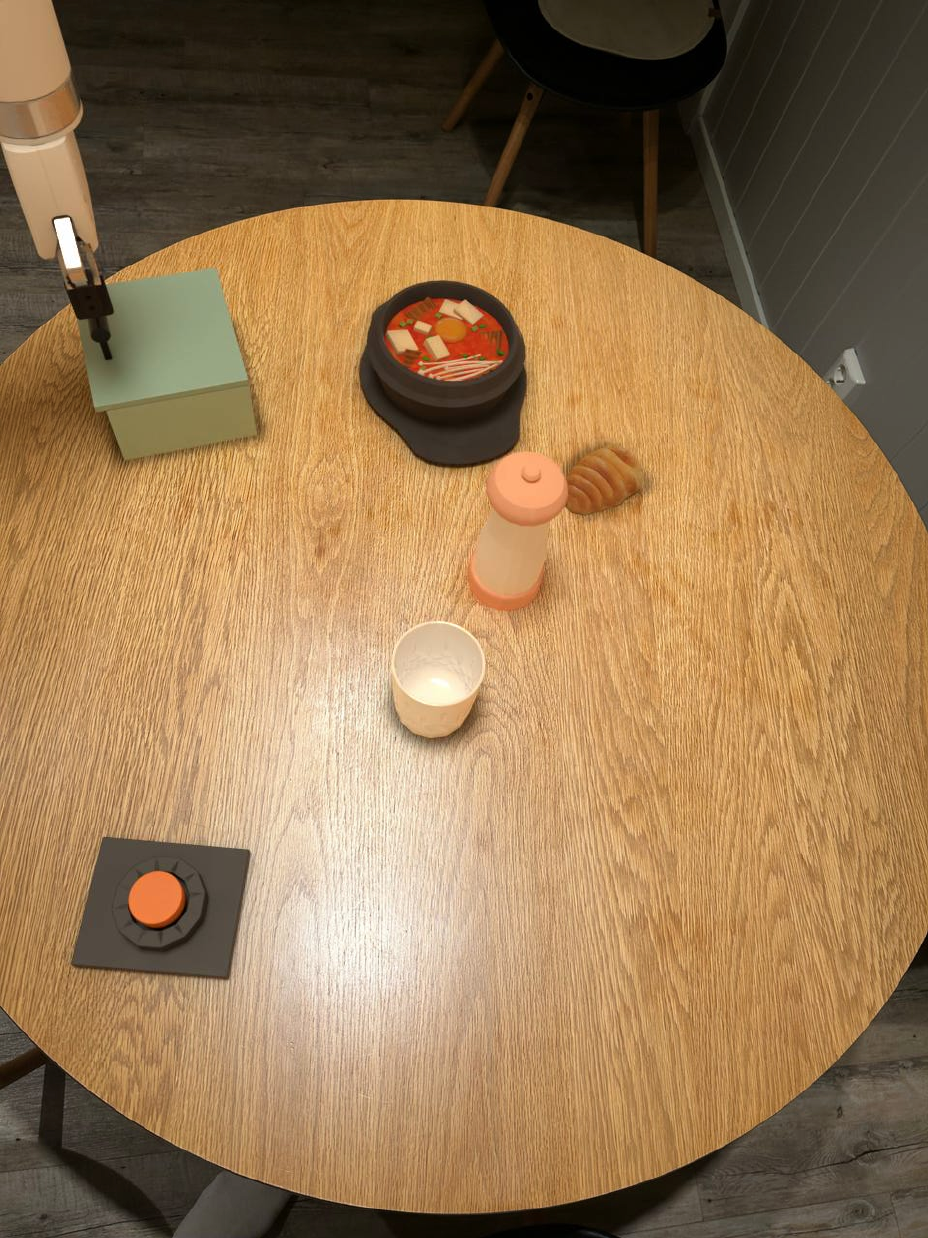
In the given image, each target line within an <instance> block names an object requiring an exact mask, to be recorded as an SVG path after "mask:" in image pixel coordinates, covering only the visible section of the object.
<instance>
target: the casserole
mask: <svg viewBox="0 0 928 1238" xmlns="http://www.w3.org/2000/svg"><path fill="white" fill-rule="evenodd" d="M366 334H367V335H366V345H365V346H364V349H363V352H362V354H361V357H360V361H359V370H358V375H359V381H360V387H361V388H362V392H363V394H364V396H365V399H366V400H367V401H368V403H369V404H370V406H371V407H372V408H373V410H374V411H375V412H376V413H378V414H379V415H380V416H381V417H382V418H383V419H384V420H385V421H386V422H387V423H388V424H390V425H391V426H392V427H393V428H394V429H395V430H396V431H398V433H399V435H400V436H401V437H402V438H403V439H404V441H405V442H406V444H407V445H408V446H409V447H410V448H411V450H412V451H413V453H414V454H416V455H417V456H419V457H420V458H422V459H424V460H425V461H429V462H433V463H438V464H442V465H468V464H476V463H480V462H484V461H489V460H491V459H493V458H496V457H498V456H500V455H503V454H504V453H506V452H507V451H509V450H510V449H512V448H513V447H514V446H515V444H516V443H517V442H518V439H519V438H520V433H521V432H520V431H521V430H520V429H521V410H522V405H523V402H524V398H525V396H526V395H525V394H526V391H527V387H528V386H527V385H528V383H527V382H528V380H527V371H526V367H525V360H526V344H525V340H524V336H523V334H522V332H521V330H520V328H519V326H518V324H517V322H516V320H515V318H514V316H513V315H512V313H511V312H510V310H509V308H507V307H506V306H505V304H504V303H503V302H502V301H500V300H499V299H498V298H497V297H496V296H494V295H493V294H492V293H489V292H488V291H486V290H484V289H483V288H480V287H477V286H475V285H473V284H469V283H466V282H461V281H455V280H445V279H443V280H441V279H440V280H439V279H438V280H428V281H427V280H426V281H424V282H423V281H422V282H418V283H415V284H412V285H409V286H407V287H404V288H403V289H402V290H400V291H398V292H396V293H395V294H393V296H391V298H390V299H389V300H387V301H385V302H383V303H382V304H380V305H378V306H377V307H376V309H375V310H374V311H373V313H371V319H370V323H369V328H368V330H367V333H366Z"/></svg>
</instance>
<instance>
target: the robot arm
mask: <svg viewBox="0 0 928 1238" xmlns="http://www.w3.org/2000/svg"><path fill="white" fill-rule="evenodd" d="M83 114H84V107H83V103H82V99H81V96H80V92H79V90H78V86H77V83H76V79H75V76H74V71H73V69H72V65H71V63H70V59H69V56H68V52H67V49H66V45H65V41H64V38H63V34H62V31H61V28H60V26H59V21H58V17H57V14H56V12H55V8H54V5H53V1H52V0H0V146H1V150H2V152H3V156H4V159H5V163H6V165H7V169H8V173H9V175H10V178H11V181H12V183H13V186H14V189H15V192H16V195H17V198H18V200H19V203H20V206H21V209H22V212H23V215H24V217H25V220H26V223H27V225H28V229H29V231H30V234H31V238H32V239H33V244H34V245H35V246H34V247H35V249H36V251H37V254H38V257H40V258H42V259H43V260H49V259H55V258H56V257H57V260H58V264H59V268H60V272H61V273H62V277H63V281H62V282H63V287H64V290H65V292H66V295H67V297H68V299H69V302H70V305H71V307H72V311H73V313H74V315H75V318H76V320H77V319H79V320H85V319H91V318H97V317H103V316H109V315H112V314H113V313H114V309H113V305H112V302H111V299H110V296H109V293H108V290H107V287H106V284H107V283H106V282H105V277H104V275H103V274H100V273H99V269H98V266H97V263H96V259H95V255H94V253H95V252H96V250H97V249H98V247H99V239H98V231H97V230H98V229H97V227H96V220H95V215H94V209H93V204H92V203H93V202H92V200H91V192H90V187H89V183H88V180H87V175H86V171H85V166H84V162H83V159H82V155H81V153H80V149H79V145H78V142H77V139H76V135H75V132H74V130H75V129H76V128H77V127H78V125H79V124H80V123H81V120H82V118H83V116H84V115H83ZM78 242H83V243H84V244H80V245H78ZM81 254H85V256H86V257H85V258H86V261H87V264H88V268H86V269H85V266H84V263H83V260H82V257H81V256H82V255H81Z"/></svg>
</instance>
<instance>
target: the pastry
mask: <svg viewBox="0 0 928 1238" xmlns="http://www.w3.org/2000/svg"><path fill="white" fill-rule="evenodd" d="M565 478H566V480H567V487H568V498H567V502H566V505H565V507H564V508H566V509H567V510H568V511H569V512H570V513H574V514H578V515H582V516H588V515H591V514H594V513H598V512H599V513H600V512H604V511H606V510H609V509H610V508H613V507H618V506H620V505H622V504H623V502H624V501H625V500H626V499H628V498H629V497H631V496H632V495H633V494H635V493H637V492H638V491H640V490H643V489H644V488H645V485H646V483H645V482H646V481H645V479H644V473H643V471H642V467H641V464H640V462H639V460H638V459H637V458H636V457H635V455H634V454H633V453H632V452H631V451H630V450H629V449H628V448H625V447H622V446H621V445H619V444H615V443H613V444H609V443H608V444H606V446H604V447H601V448H598V449H596V450H592V451H589V452H588V453H587V454H586V455H585V456H584V457H583V458H582V459H580V460H579V461H577V462H576V463H575V464H574V466H573V467H572V468H571V470H570V472H569V473H568V474H567V477H565Z"/></svg>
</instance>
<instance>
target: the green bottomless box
mask: <svg viewBox="0 0 928 1238" xmlns="http://www.w3.org/2000/svg"><path fill="white" fill-rule="evenodd" d="M252 399H253V398H252V393H251V386H250V384H249V385H245V386H240V387H234V388H229V389H223V390H218V391H212V392H207V393H201V394H196V395H190V396H185V397H179V398H174V399H168V400H163V401H157V402H151V403H146V404H140V405H135V406H129V407H124V408H118V409H113V410H107V411H105V412H106V415H107V418H108V421H109V423H110V425H111V428H112V431H113V433H114V436H115V439H116V442H117V445H118V447H119V451H120V453H121V455H122V458H123V460H124V461H130V460H135V459H141V458H145V457H151V456H156V455H161V454H166V453H173V452H177V451H183V450H187V449H192V448H197V447H203V446H209V445H212V444H218V443H219V444H220V443H224V442H228V441H234V440H238V439H239V440H240V439H243V438H249V437H255V436H258V431H257V424H256V423H257V422H256V418H255V412H254V406H253V400H252Z"/></svg>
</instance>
